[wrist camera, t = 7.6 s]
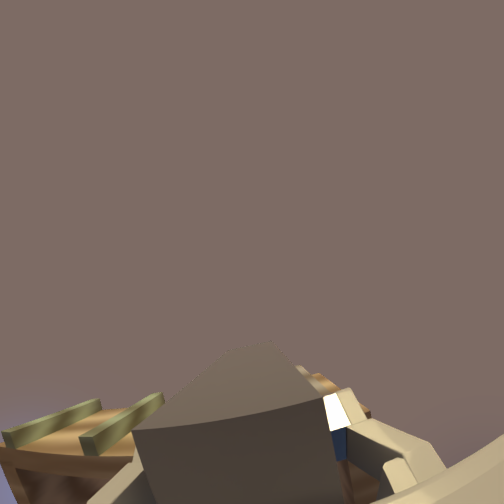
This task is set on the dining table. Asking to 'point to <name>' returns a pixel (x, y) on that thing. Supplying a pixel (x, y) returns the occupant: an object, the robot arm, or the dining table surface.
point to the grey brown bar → (242, 436)
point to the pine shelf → (111, 451)
